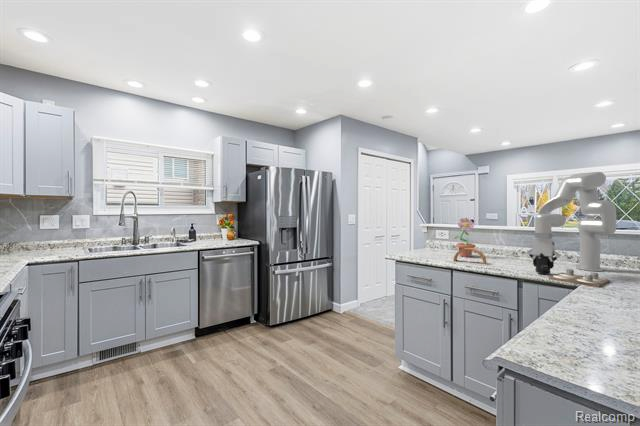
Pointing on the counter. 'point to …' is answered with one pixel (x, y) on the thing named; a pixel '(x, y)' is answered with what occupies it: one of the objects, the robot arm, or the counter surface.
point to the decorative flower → (465, 225)
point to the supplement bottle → (542, 264)
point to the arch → (472, 250)
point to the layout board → (580, 278)
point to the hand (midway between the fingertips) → (543, 266)
